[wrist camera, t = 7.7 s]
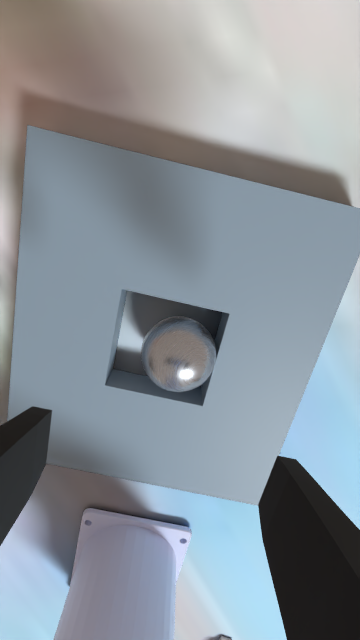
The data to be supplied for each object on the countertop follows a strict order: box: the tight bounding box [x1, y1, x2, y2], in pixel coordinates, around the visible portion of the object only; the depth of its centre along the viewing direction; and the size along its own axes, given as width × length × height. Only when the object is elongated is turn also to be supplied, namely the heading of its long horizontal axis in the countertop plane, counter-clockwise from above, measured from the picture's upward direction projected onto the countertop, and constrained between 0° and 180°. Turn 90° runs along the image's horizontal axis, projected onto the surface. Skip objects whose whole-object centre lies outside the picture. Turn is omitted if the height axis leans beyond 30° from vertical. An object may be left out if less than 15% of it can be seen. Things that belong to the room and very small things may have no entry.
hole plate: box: [7, 125, 360, 505], centre depth 18 cm, size 18×16×2 cm
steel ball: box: [141, 316, 216, 392], centre depth 17 cm, size 4×4×4 cm
